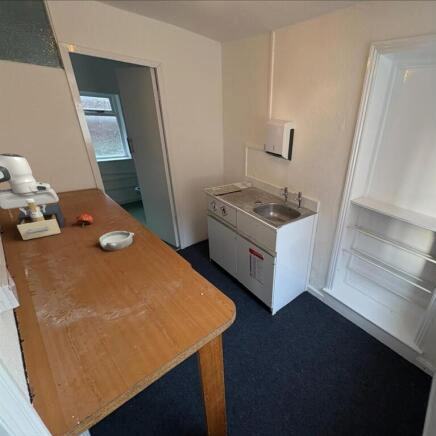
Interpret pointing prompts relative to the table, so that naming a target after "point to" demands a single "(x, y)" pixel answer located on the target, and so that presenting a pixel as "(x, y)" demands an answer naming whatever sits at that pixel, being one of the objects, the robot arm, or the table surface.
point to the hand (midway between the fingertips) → (36, 213)
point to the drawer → (39, 227)
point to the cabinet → (47, 213)
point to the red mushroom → (84, 219)
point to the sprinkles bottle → (34, 211)
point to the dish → (116, 240)
